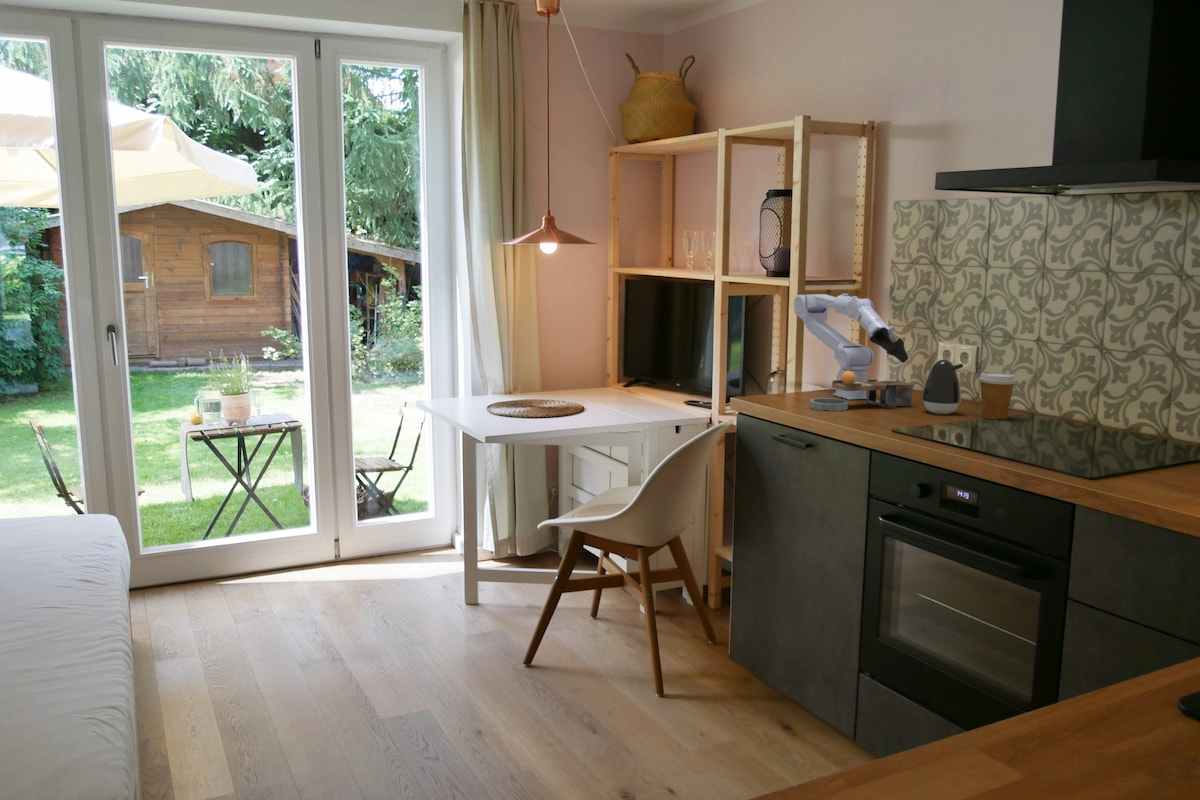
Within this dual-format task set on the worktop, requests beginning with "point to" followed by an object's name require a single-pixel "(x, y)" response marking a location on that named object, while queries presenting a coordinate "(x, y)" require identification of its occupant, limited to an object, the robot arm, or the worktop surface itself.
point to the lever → (901, 389)
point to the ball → (848, 377)
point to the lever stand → (889, 396)
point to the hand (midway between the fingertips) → (899, 355)
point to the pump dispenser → (942, 388)
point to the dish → (829, 404)
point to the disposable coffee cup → (996, 394)
